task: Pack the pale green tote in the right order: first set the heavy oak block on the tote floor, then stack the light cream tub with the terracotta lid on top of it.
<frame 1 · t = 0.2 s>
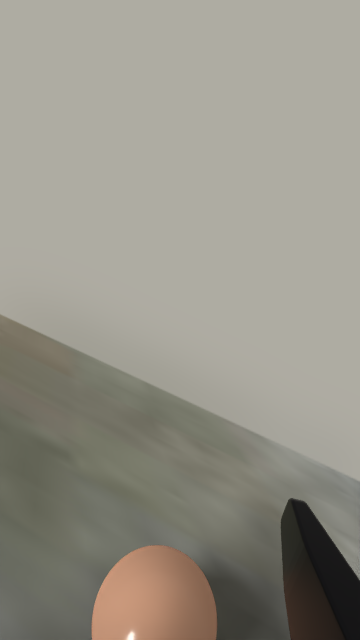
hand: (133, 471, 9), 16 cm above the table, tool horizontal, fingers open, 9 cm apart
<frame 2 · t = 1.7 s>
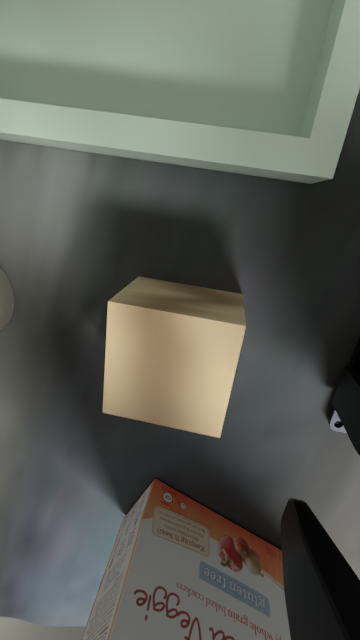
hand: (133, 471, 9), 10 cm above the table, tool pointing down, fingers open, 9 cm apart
oak block: (182, 331, 19), on the table
cracker box: (213, 533, 25), on the table
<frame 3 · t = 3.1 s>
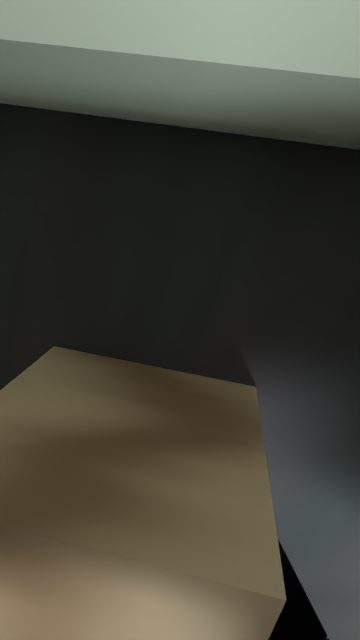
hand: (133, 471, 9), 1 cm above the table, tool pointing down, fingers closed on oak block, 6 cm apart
oak block: (142, 445, 10), on the table, touching gripper
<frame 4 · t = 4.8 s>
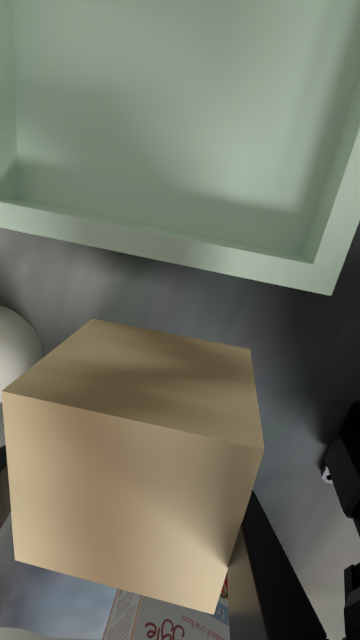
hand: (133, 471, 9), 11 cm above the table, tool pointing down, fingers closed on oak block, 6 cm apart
oak block: (159, 400, 12), point 7 cm above the table, touching gripper
cream tub: (3, 344, 22), on the table
cracker box: (213, 562, 27), on the table
green tote: (175, 104, 15), on the table
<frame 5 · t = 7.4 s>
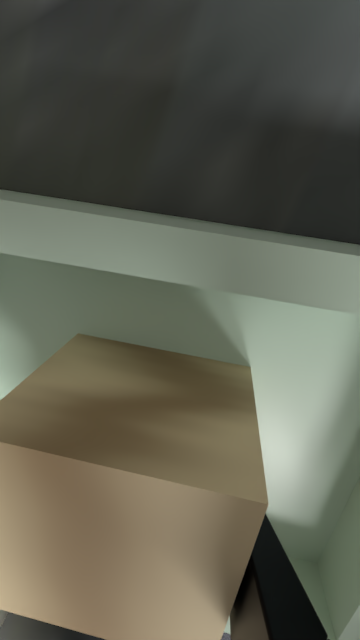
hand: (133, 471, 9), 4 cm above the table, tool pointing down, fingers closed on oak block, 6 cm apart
oak block: (152, 420, 12), point 1 cm above the table, touching green tote, gripper
green tote: (156, 398, 12), on the table
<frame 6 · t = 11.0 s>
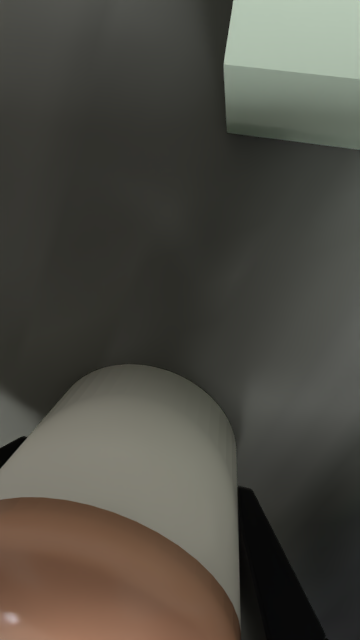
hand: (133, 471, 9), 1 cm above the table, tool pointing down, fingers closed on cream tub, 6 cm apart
cream tub: (142, 445, 10), on the table, touching gripper
when the fingers open (8 cm above the table, at t = 14.5 s): cream tub stays where it is, resting on oak block.
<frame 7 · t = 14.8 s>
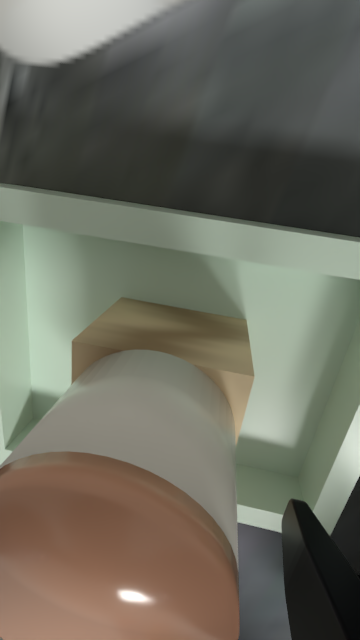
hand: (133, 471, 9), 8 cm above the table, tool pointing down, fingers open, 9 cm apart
oak block: (174, 363, 16), point 1 cm above the table, touching cream tub, green tote
cream tub: (149, 426, 11), point 6 cm above the table, touching oak block
green tote: (176, 350, 16), on the table
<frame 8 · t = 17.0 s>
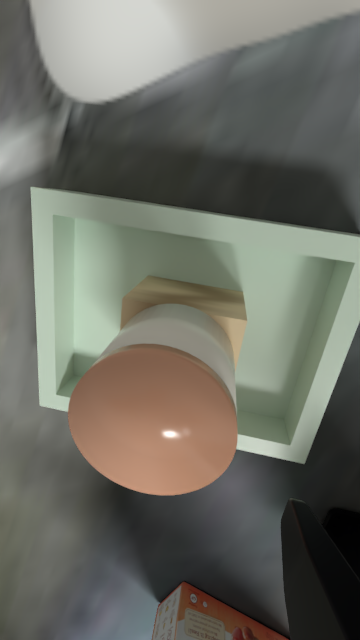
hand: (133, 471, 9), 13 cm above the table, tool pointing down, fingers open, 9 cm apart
oak block: (187, 327, 20), point 1 cm above the table, touching cream tub, green tote
cream tub: (174, 360, 15), point 6 cm above the table, touching oak block
cracker box: (226, 617, 33), on the table
green tote: (188, 318, 21), on the table
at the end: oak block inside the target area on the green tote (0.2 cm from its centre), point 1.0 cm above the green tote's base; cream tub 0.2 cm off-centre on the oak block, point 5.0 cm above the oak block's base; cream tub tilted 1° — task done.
